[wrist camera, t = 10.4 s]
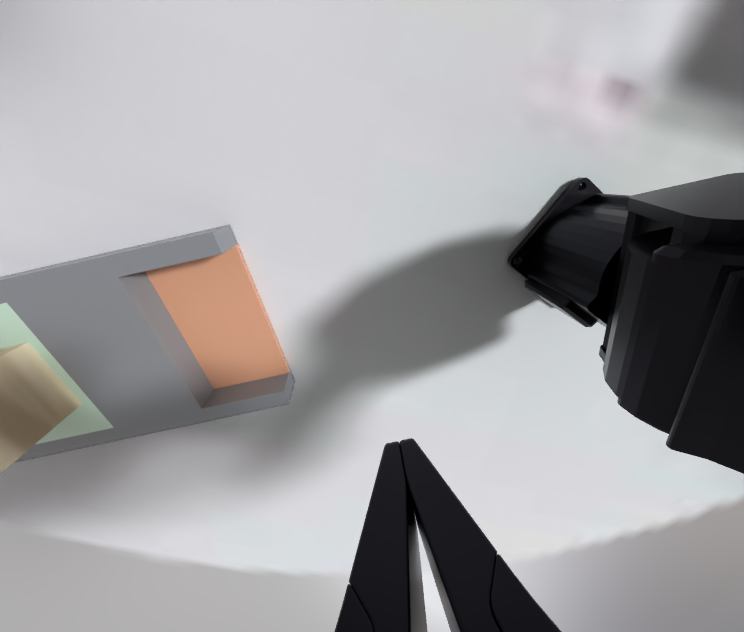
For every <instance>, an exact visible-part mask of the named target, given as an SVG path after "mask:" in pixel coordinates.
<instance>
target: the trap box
mask: <svg viewBox="0 0 744 632" xmlns="http://www.w3.org/2000/svg"><path fill="white" fill-rule="evenodd" d="M26 342H28V343H29V344H30V345H31V346H32V347H33V348H34V350H35V351H36V352H37V353H38V354H39V355H40V356H41V358H42V359H43V360H44V361H45V362H46V363H47V364H48V365H49V367H50V368H51V369H52V370H53V371H54V372H55V373H56V375H57V376H58V377H59V378H60V379H61V380H62V381H63V382H64V384H65V385H66V386H67V387H68V388H69V389H70V390H71V392H72V393H73V394H74V395H75V396H76V397H77V398H78V400H79V401H80V402H81V403H82V404H81V405H80V406H79V407H78V408H77V409H75V410H74V411H73V412H72V413H71V414H70V415H68V416H67V417H66V418H65V419H64V420H63V421H61V422H60V423H59V424H58V425H57V426H56V427H54V428H53V429H52V430H51V431H50V432H49V433H47V434H46V435H45V436H44V437H43V438H42V439H40V440H39V441H38V442H37V443H36V444H35V445H33V446H32V447H31V448H30V449H29V450H28V451H26V452H25V453H24V454H23V455H22V456H21V457H19V458H18V459H17V460H16V461H15V462H19V461H23V460H28V459H33V458H37V457H42V456H47V455H52V454H56V453H61V452H66V451H70V450H75V449H80V448H84V447H89V446H94V445H98V444H103V443H108V442H112V441H117V440H122V439H127V438H131V437H136V436H141V435H145V434H150V433H155V432H159V431H164V430H169V429H173V428H178V427H183V426H188V425H192V424H197V423H202V422H206V421H211V420H216V419H220V418H225V417H230V416H234V415H239V414H244V413H248V412H253V411H258V410H263V409H267V408H272V407H277V406H281V405H286V404H289V403H290V399H291V395H292V391H293V387H294V383H295V381H294V378H293V376H292V373H291V371H290V369H289V366H288V364H287V361H286V359H285V357H284V354H283V352H282V349H281V347H280V344H279V342H278V340H277V337H276V335H275V332H274V330H273V328H272V325H271V323H270V320H269V318H268V316H267V313H266V311H265V308H264V306H263V304H262V301H261V299H260V296H259V294H258V292H257V289H256V287H255V284H254V282H253V279H252V277H251V275H250V272H249V270H248V267H247V265H246V263H245V260H244V258H243V255H242V253H241V251H240V248H239V246H238V243H237V241H236V239H235V236H234V234H233V231H232V229H231V227H230V225H226V226H222V227H217V228H213V229H209V230H204V231H200V232H195V233H191V234H187V235H182V236H178V237H174V238H169V239H165V240H160V241H156V242H152V243H147V244H143V245H139V246H134V247H130V248H125V249H121V250H117V251H112V252H108V253H104V254H99V255H95V256H90V257H86V258H82V259H77V260H73V261H69V262H64V263H60V264H55V265H51V266H47V267H42V268H38V269H34V270H29V271H25V272H20V273H16V274H12V275H7V276H3V277H0V348H4V347H8V346H13V345H17V344H22V343H26Z"/></svg>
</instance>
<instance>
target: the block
mask: <svg viewBox="0 0 744 632" xmlns="http://www.w3.org/2000/svg"><path fill="white" fill-rule="evenodd" d="M81 404H82V403H81V402H80V401H79V400H78V398H77V397H76V396H75V395H74V394H73V393H72V392H71V390H70V389H69V388H68V387H67V386H66V385H65V384H64V382H63V381H62V380H61V379H60V378H59V377H58V376H57V375H56V373H55V372H54V371H53V370H52V369H51V368H50V367H49V365H48V364H47V363H46V362H45V361H44V360H43V359H42V358H41V356H40V355H39V354H38V353H37V352H36V351H35V350H34V348H33V347H32V346H31V345H30V344H29V343H28V342H26V343H22V344H17V345H13V346H8V347H4V348H0V474H1V473H2V472H3V471H4V470H5V469H7V468H8V467H9V466H10V465H11V464H12V463H14V462H15V461H16V460H17V459H18V458H19V457H21V456H22V455H23V454H24V453H25V452H26V451H28V450H29V449H30V448H31V447H32V446H33V445H35V444H36V443H37V442H38V441H39V440H40V439H42V438H43V437H44V436H45V435H46V434H47V433H49V432H50V431H51V430H52V429H53V428H54V427H56V426H57V425H58V424H59V423H60V422H61V421H63V420H64V419H65V418H66V417H67V416H68V415H70V414H71V413H72V412H73V411H74V410H75V409H77V408H78V407H79V406H80V405H81Z"/></svg>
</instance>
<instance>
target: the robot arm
mask: <svg viewBox="0 0 744 632" xmlns="http://www.w3.org/2000/svg"><path fill="white" fill-rule="evenodd" d="M580 184H582V187H581V189H580V190H578V186H579V185H580ZM517 258H518V262H517V263H515V264H514V261H515V259H517ZM508 265H509V266H510V267H511V268H513V269H514V270H515V271H517V272H518V273H519V274H521V275H522V276H523V277H525V278H526V279H527V280H526V281H525V287H527V288H528V289H530V290H531V291H532V292H534V293H535V294H536V295H538V296H539V297H540V298H542V299H543V300H544V301H546V302H547V303H549V304H550V305H552V306H553V307H555V308H557V309H558V310H560V311H561V312H563V313H564V314H566V315H568V316H569V317H571V318H572V319H574V320H576V321H577V322H579V323H580V324H582V325H583V326H585V327H592V326H593V325H594V324H595V323H596V322H598V323H600V324H602V325H604V326H605V327H606V332H605V337H604V342H603V345H601V346H600V351H599V355H600V357H601V358H602V360H603V361H604V366H603V372H604V377H605V381H606V383H607V384H608V385H609V387H610V388H611V389H612V391H613V392H614V393H615V395H616V396H617V397H618V404H619V405H620V406H621V407H623V408H624V409H625V410H627V411H628V412H629V413H631V414H632V415H633V416H635V417H636V418H638V419H640V420H642V421H643V422H645V423H647V424H649V425H651V426H652V427H654V428H656V429H658V430H660V431H663V432H665V433H668V434H669V436H668V439H667V441H666V445H667V446H668V447H669V448H670V449H672V450H675V451H679V452H683V453H686V454H690V455H694V456H698V457H701V458H705V459H708V460H711V461H713V462H716V463H718V464H721V465H723V466H726V467H728V468H731V469H733V470H736V471H739V472H741V473H743V474H744V173H733V174H727V175H722V176H718V177H713V178H709V179H704V180H700V181H696V182H691V183H687V184H682V185H678V186H673V187H669V188H664V189H660V190H655V191H651V192H646V193H642V194H637V195H633V196H626V195H612V194H603V193H602V192H601V191H600V190H599V189H598V188H597V187H596V186H595V185H594V184H593V183H592V182H591V181H590V180H589V179H588V178H577V179H575V180H574V181H573V182H572V183H571V184H570V185H569V187H568V188H567V189H566V190H565V191H564V193H563V194H562V195H561V196H560V197H559V199H558V200H557V201H556V202H555V203H554V204H553V206H552V207H551V208H550V209H549V210H548V212H547V213H546V214H545V215H544V216H543V217H542V219H541V220H540V221H539V222H538V223H537V225H536V226H535V227H534V228H533V229H532V230H531V232H530V233H529V234H528V235H527V236H526V238H525V239H524V240H523V241H522V242H521V244H520V245H519V246H518V247H517V248H516V249H515V251H514V252H513V253H512V254H511V255H510V257H509V258H508ZM415 517H416V519H415ZM416 521H417V525H418V528H419V532H420V535H421V538H422V542H423V545H424V548H425V551H426V554H427V557H428V561H429V564H430V567H431V570H432V573H433V576H434V579H435V583H436V586H437V589H438V592H439V595H440V598H441V602H442V605H443V608H444V611H445V614H446V617H447V620H448V624H449V627H450V630H451V632H561V631H560V630H559V628H558V627H557V626H556V625H555V624H554V622H553V621H552V620H551V619H550V618H549V617H548V615H547V614H546V613H545V612H544V611H543V609H542V608H541V607H540V606H539V605H538V604H537V603H536V601H535V600H534V599H533V598H532V596H531V595H530V594H529V592H528V591H527V590H526V589H525V587H524V586H523V585H522V583H521V582H520V581H519V580H518V578H517V577H516V576H515V575H514V573H513V572H512V571H511V569H510V568H509V567H508V565H507V564H506V563H505V561H504V560H503V558H502V557H501V556H500V555H499V554H498V555H497V551H496V549H495V548H494V547H493V545H492V544H491V543H490V541H489V540H488V539H487V537H486V536H485V534H484V533H483V532H482V530H481V529H480V528H479V526H478V525H477V524H476V522H475V521H474V520H473V518H472V517H471V516H470V514H469V513H468V512H467V510H466V509H465V508H464V506H463V505H462V503H461V502H460V501H459V499H458V498H457V497H456V495H455V494H454V493H453V491H452V490H451V489H450V487H449V486H448V485H447V483H446V482H445V481H444V479H443V478H442V477H441V475H440V474H439V472H438V471H437V470H436V468H435V467H434V466H433V464H432V463H431V462H430V460H429V459H428V458H427V456H426V455H425V454H424V452H423V451H422V450H421V448H420V447H419V446H418V444H417V443H416V441H415V440H414V439H412V438H411V439H406V440H402V441H400V444H399V442H397V441H396V442H392V443H387V444H386V445H385V447H384V450H383V454H382V458H381V462H380V465H379V469H378V473H377V477H376V480H375V484H374V488H373V492H372V496H371V499H370V503H369V507H368V511H367V514H366V518H365V522H364V526H363V529H362V533H361V537H360V541H359V545H358V548H357V552H356V556H355V560H354V563H353V567H352V571H351V575H350V579H349V583H350V584H348V586H347V589H346V593H345V597H344V601H343V604H342V608H341V611H340V615H339V618H338V622H337V625H336V629H335V632H427V623H426V613H425V604H424V593H423V583H422V572H421V562H420V552H419V542H418V533H417V525H416Z"/></svg>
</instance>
